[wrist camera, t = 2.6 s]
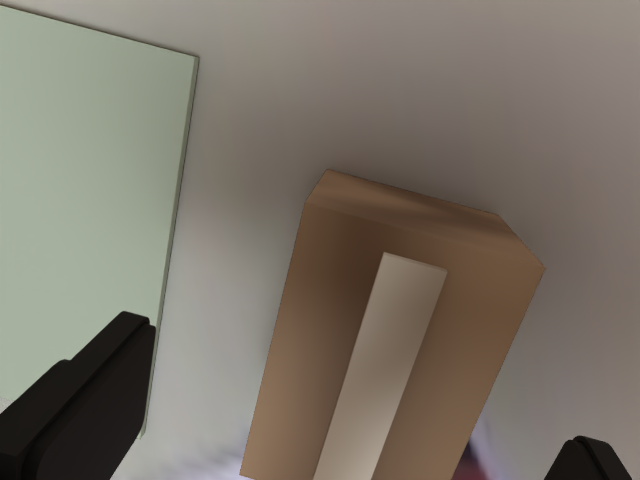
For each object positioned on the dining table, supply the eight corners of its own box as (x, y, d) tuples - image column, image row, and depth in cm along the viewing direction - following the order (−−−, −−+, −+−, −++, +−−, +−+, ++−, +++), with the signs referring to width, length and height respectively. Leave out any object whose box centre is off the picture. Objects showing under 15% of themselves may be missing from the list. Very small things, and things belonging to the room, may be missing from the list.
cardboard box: (497, 213, 16) (548, 270, 11) (416, 420, 19) (428, 537, 14) (327, 168, 16) (303, 204, 11) (274, 379, 19) (237, 479, 14)
